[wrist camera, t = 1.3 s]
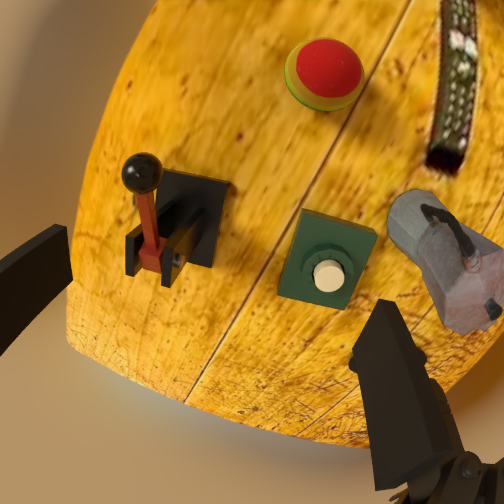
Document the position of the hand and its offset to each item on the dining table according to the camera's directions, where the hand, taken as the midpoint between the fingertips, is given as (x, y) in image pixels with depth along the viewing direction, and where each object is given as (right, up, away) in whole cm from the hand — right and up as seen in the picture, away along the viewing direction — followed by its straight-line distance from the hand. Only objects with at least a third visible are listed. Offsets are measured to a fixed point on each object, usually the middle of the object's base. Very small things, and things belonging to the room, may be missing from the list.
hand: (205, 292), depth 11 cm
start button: (+11, -1, +24) cm, 26 cm away
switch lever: (-7, +6, +14) cm, 16 cm away
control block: (+11, +1, +27) cm, 29 cm away
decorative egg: (+10, +21, +17) cm, 29 cm away
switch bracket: (-7, +6, +26) cm, 28 cm away
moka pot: (+23, +6, +23) cm, 33 cm away
